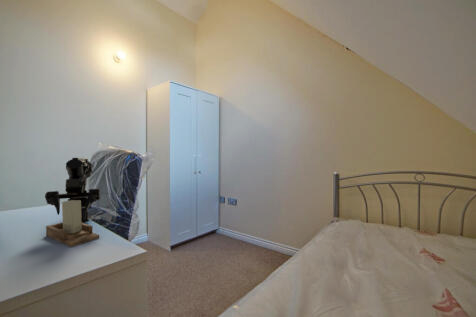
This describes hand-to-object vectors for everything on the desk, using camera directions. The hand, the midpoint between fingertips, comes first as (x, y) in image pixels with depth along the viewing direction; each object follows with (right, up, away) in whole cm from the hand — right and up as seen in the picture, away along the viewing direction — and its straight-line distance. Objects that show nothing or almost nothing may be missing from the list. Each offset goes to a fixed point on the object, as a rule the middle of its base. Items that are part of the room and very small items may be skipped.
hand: (72, 212), depth 89 cm
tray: (0, -10, 0) cm, 10 cm away
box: (0, -8, 0) cm, 8 cm away
